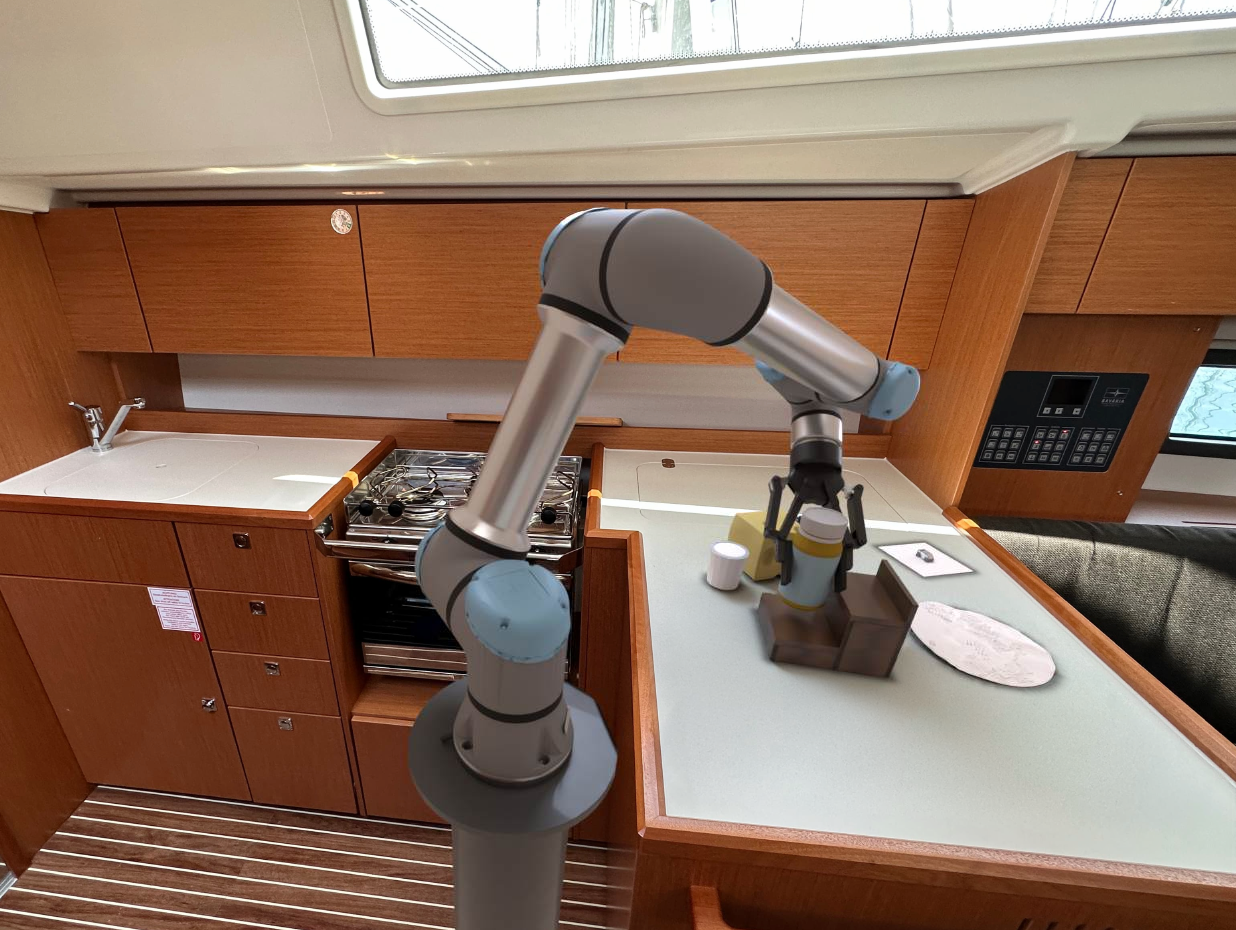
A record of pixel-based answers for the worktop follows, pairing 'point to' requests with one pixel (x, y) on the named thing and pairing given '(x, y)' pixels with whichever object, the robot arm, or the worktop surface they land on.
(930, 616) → the plaque
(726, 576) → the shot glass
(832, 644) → the step rack
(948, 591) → the worktop surface
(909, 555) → the white paper sheet
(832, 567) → the bottle
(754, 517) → the cheese
